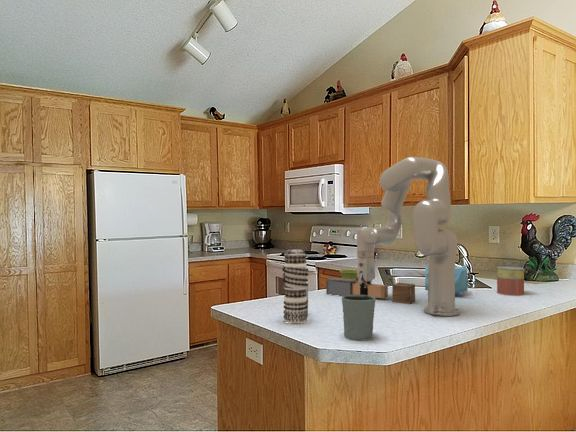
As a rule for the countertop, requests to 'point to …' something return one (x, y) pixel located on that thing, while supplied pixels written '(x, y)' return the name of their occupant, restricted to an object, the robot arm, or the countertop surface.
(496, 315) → the countertop surface
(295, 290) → the decorative candle
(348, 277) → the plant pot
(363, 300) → the grey green cup
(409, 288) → the walnut socket
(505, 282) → the canned food
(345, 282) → the grey rectangular block
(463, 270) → the teakettle
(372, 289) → the light brown wooden bar
